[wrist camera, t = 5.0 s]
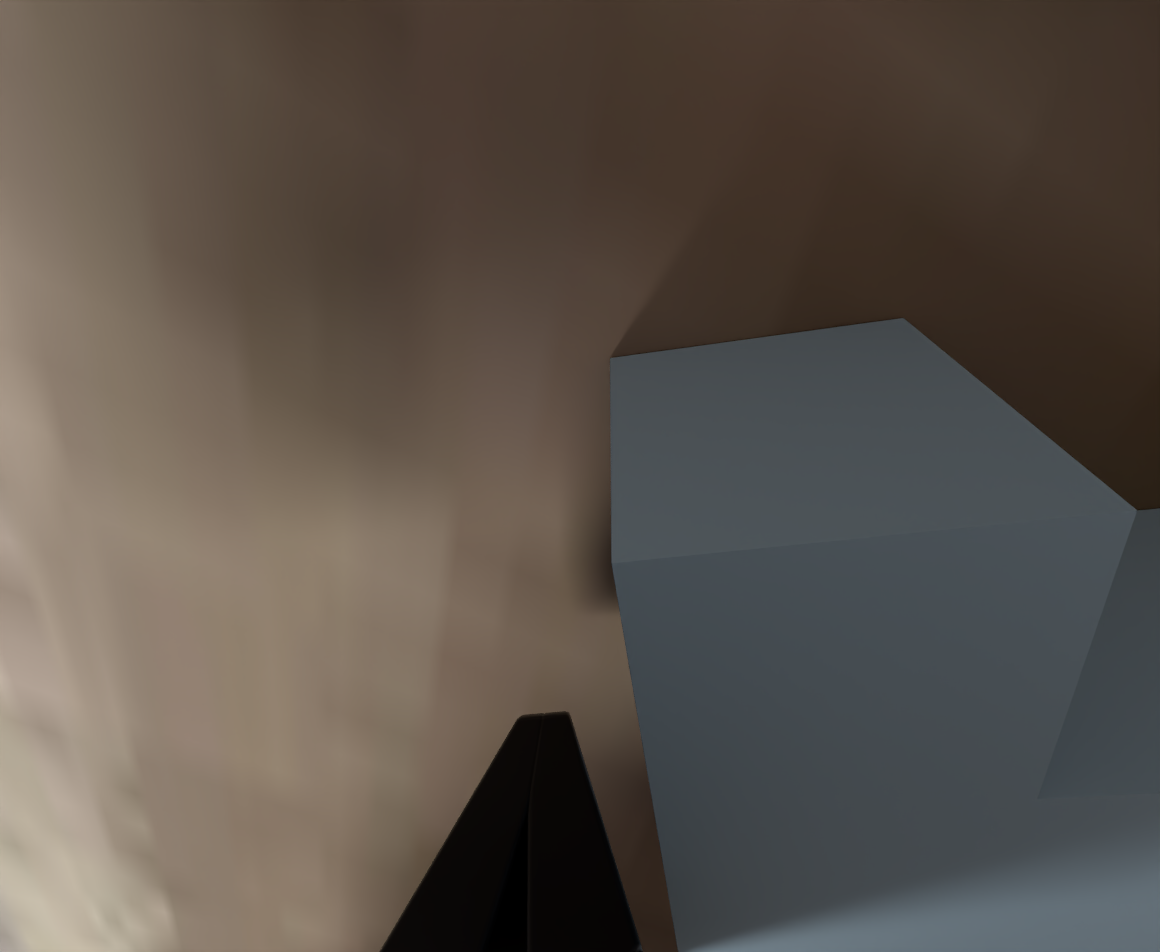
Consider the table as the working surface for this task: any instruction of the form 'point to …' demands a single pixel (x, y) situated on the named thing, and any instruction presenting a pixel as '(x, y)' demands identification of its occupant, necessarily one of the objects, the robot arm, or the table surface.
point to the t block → (883, 654)
